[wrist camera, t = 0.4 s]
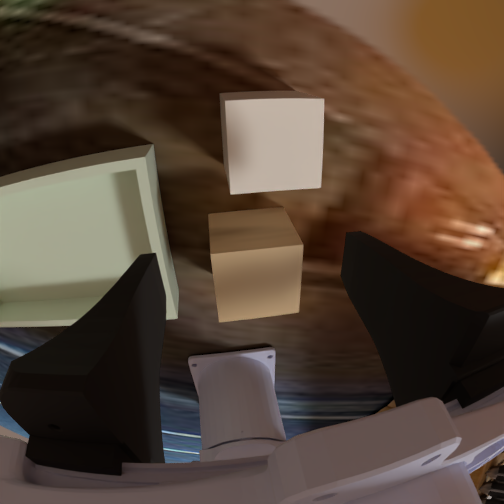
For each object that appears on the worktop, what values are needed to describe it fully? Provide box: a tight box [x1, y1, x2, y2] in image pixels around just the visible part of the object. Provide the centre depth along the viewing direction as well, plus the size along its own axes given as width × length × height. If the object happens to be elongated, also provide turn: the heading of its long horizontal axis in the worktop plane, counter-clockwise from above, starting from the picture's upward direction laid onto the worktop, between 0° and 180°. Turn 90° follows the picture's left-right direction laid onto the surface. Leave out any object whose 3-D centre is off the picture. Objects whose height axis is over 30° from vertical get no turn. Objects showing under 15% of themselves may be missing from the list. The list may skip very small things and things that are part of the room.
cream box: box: [220, 91, 324, 195], centre depth 16 cm, size 4×4×5 cm
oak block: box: [208, 207, 303, 322], centre depth 21 cm, size 5×5×5 cm
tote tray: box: [0, 144, 179, 327], centre depth 19 cm, size 11×17×3 cm, turn 91°
